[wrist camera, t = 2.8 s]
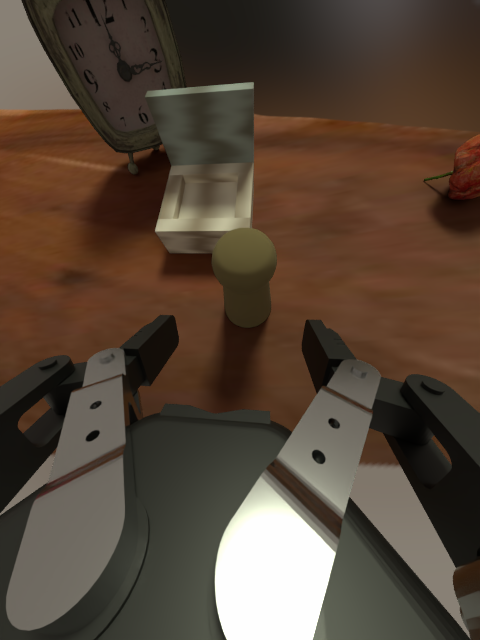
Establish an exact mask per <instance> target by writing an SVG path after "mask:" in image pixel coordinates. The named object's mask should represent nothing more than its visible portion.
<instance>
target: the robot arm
mask: <svg viewBox="0 0 480 640" xmlns="http://www.w3.org/2000/svg"><path fill="white" fill-rule="evenodd" d="M178 343H179V336H178V331H177V326H176V321H175V317H174V316H173V315H160V316H158V317H157V318H156V319H155V320H154V321H153V322H152V323H150V324H148V325H146V326H144V327H143V328H141V329H140V330H139V331H138V332H137V333H136V334H135V335H134V336H132V337H131V338H130V339H129V340H128V341H126V342H125V343H124V344H123V345H122V346H121V347H120V348H111V349H107V350H103V351H101V352H99V353H97V354H95V355H93V356H92V357H91V358H90V359H89V360H88V362H84V363H77V364H73V363H72V361H71V359H70V357H69V356H66V355H60V356H54V357H51V358H47V359H45V360H42V361H40V362H38V363H36V364H35V365H33V366H31V367H30V368H28V369H27V370H25V371H24V372H22V373H21V374H19V375H18V376H16V377H15V378H13V379H11V380H10V381H8V382H7V383H5V384H4V385H2V386H1V387H0V513H1V512H2V511H3V509H4V508H5V507H6V506H7V505H8V504H9V502H10V501H11V500H12V499H13V498H14V497H15V495H16V494H17V493H18V492H19V491H20V489H21V488H22V487H23V486H24V485H25V484H26V483H27V481H28V480H29V479H30V478H31V477H32V475H33V474H34V473H35V472H36V471H37V470H38V469H39V467H40V466H41V465H42V464H43V463H44V462H45V461H46V459H47V458H48V457H49V456H50V455H51V454H52V452H53V451H54V450H55V449H56V448H57V451H56V454H55V458H54V462H53V466H52V470H51V474H50V478H49V481H48V483H47V484H45V485H43V486H42V487H41V488H39V489H38V490H36V491H35V492H33V493H32V494H30V495H29V496H28V497H26V498H25V499H23V500H22V501H20V502H19V503H18V504H16V505H15V506H13V507H12V508H10V509H9V510H7V511H6V512H5V513H3V514H2V515H0V640H470V639H471V640H480V413H479V412H477V411H476V410H475V409H474V408H473V407H472V406H471V405H470V404H468V403H467V402H466V401H465V400H464V399H463V398H462V397H461V396H460V395H458V394H457V393H456V392H455V391H454V390H453V389H451V388H450V387H449V386H447V385H446V384H444V383H442V382H440V381H438V380H436V379H433V378H431V377H428V376H424V375H418V374H412V375H409V376H407V378H406V380H405V382H404V383H403V382H399V381H395V380H391V379H387V378H383V377H381V376H380V373H379V372H378V371H377V370H376V369H375V368H374V367H373V366H371V365H369V364H368V363H365V362H363V361H360V360H357V359H356V358H355V356H354V355H353V354H352V352H351V351H350V350H349V348H348V347H347V346H346V345H345V343H344V342H343V340H342V339H341V338H340V336H339V335H338V334H337V333H336V332H334V331H333V330H331V329H327V328H326V327H325V325H324V324H323V322H322V321H321V320H306V323H305V328H304V334H303V339H302V352H303V355H304V358H305V361H306V364H307V367H308V370H309V373H310V375H311V378H312V381H313V384H314V387H315V390H316V393H317V395H316V397H315V398H314V400H313V401H312V403H311V405H310V406H309V408H308V409H307V411H306V412H305V414H304V415H303V417H302V418H301V420H300V422H299V423H298V425H297V426H296V428H295V429H294V431H293V432H291V431H290V430H288V429H287V428H285V427H284V426H282V425H280V424H278V423H276V422H273V421H271V420H270V411H258V410H244V409H242V410H236V411H230V412H224V413H218V414H213V413H210V412H207V411H204V410H202V409H199V408H196V407H193V406H190V405H177V404H165V405H164V407H163V409H162V411H161V413H157V414H153V415H150V416H147V417H145V418H143V412H142V406H141V400H140V393H139V390H138V388H139V387H140V385H141V386H151V384H152V383H153V381H154V380H155V378H156V377H157V376H158V374H159V373H160V371H161V370H162V368H163V367H164V365H165V364H166V362H167V361H168V359H169V358H170V356H171V355H172V353H173V352H174V351H175V349H176V348H177V346H178ZM42 398H44V399H45V400H46V402H47V403H48V404H49V406H50V407H51V408H50V409H49V410H48V411H47V412H46V413H45V414H44V415H43V416H41V417H40V418H39V419H38V420H37V421H36V422H35V423H34V424H33V425H32V426H31V427H30V428H29V429H27V430H26V431H25V432H24V433H22V432H21V431H20V430H19V429H18V421H19V419H20V417H21V416H22V415H23V414H24V413H25V412H26V411H27V410H29V409H30V408H31V407H32V406H33V405H34V404H36V403H37V402H38V401H39V400H40V399H42ZM369 428H371V429H374V430H376V431H379V432H382V433H383V434H384V436H385V438H386V440H387V441H388V443H389V445H390V447H391V449H392V451H393V452H394V454H395V456H396V458H397V460H398V462H399V464H400V465H401V467H402V469H403V471H404V473H405V475H406V476H407V478H408V480H409V482H410V484H411V486H412V487H413V489H414V491H415V493H416V495H417V497H418V499H419V500H420V502H421V504H422V506H423V508H424V510H425V511H426V513H427V515H428V517H429V519H430V520H431V522H432V524H433V526H434V528H435V530H436V531H437V533H438V535H439V537H440V539H441V541H442V543H443V545H444V547H445V548H446V550H447V552H448V554H449V556H450V558H451V559H452V561H453V563H454V565H455V567H456V570H455V571H454V575H453V585H454V590H455V594H456V597H457V600H458V602H459V605H460V613H461V617H462V619H463V622H464V624H465V626H466V628H467V629H468V631H469V634H470V638H469V637H468V636H467V635H466V633H465V632H464V631H463V630H462V628H461V627H460V626H459V624H458V623H457V622H456V621H455V620H454V618H453V617H452V616H451V615H450V614H449V613H448V612H447V610H446V609H445V608H444V607H443V605H442V604H441V603H440V602H439V601H438V600H437V598H436V597H435V596H434V595H433V594H432V593H431V591H430V590H429V589H428V588H427V587H426V586H425V584H424V583H423V582H422V581H421V580H420V579H419V577H418V576H417V575H416V574H415V573H414V572H413V570H412V569H411V568H410V567H409V566H408V565H407V563H406V562H405V561H404V560H403V559H402V558H401V556H400V555H399V554H398V553H397V552H396V551H395V549H394V548H393V547H392V546H391V545H390V544H389V542H388V541H387V540H386V539H385V538H384V537H383V535H382V534H381V533H380V532H379V531H378V530H377V528H376V527H375V526H374V525H373V524H372V523H371V521H370V520H369V519H368V518H367V517H366V516H365V514H364V513H363V512H362V511H361V510H360V509H359V507H358V506H357V505H356V504H355V503H354V502H353V501H352V499H351V498H350V497H349V495H350V492H351V488H352V485H353V481H354V478H355V474H356V471H357V467H358V464H359V460H360V457H361V453H362V450H363V446H364V443H365V439H366V436H367V432H368V429H369ZM434 435H435V437H436V438H437V439H438V441H439V442H440V443H441V444H442V446H443V447H444V448H445V449H446V451H447V452H448V454H449V456H450V459H451V462H452V465H451V464H450V463H449V461H448V460H447V459H446V457H445V456H444V455H443V453H442V452H441V451H440V450H439V448H438V447H437V446H436V444H435V443H434V442H433V440H432V439H431V438H432V437H433V436H434Z"/></svg>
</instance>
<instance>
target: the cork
mask: <svg viewBox="0 0 480 640" xmlns="http://www.w3.org/2000/svg"><path fill="white" fill-rule="evenodd" d="M276 265H277V255H276V250H275V248H274V245H273V243H272V242H271V241H270V239H269V238H268V237H267V236H266V235H265V234H264V233H262V232H260V231H259V230H256V229H252V228H237V229H234V230H231V231H229V232H227V233H226V234H224V235H223V236H222V237H221V238H220V239H219V240H218V242H217V243H216V245H215V247H214V249H213V253H212V267H213V272H214V274H215V276H216V278H217V279H218V281H219V282H220V284H222V285H223V291H224V305H225V311H226V315H227V316H228V318H229V319H230V321H231V322H233V323H234V324H235V325H238V326H240V327H245V328H251V327H255V326H258V325H260V324H261V323H263V322H264V321H265V320H266V319H267V317H268V316H269V314H270V311H271V297H270V287H269V281H270V279H271V278H272V277H273V274H274V271H275V269H276Z"/></svg>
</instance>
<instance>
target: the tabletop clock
mask: <svg viewBox="0 0 480 640" xmlns="http://www.w3.org/2000/svg"><path fill="white" fill-rule="evenodd" d="M22 3H23V5H24V8H25V11H26V13H27V16H28V19H29V21H30V23H31V25H32V27H33V29H34V31H35V33H36V35H37V37H38V39H39V41H40V43H41V45H42V47H43V49H44V51H45V52H46V54H47V56H48V57H49V59H50V61H51V62H52V64H53V66H54V67H55V69H56V71H57V73H58V74H59V76H60V78H61V79H62V81H63V83H64V85H65V86H66V88H67V90H68V91H69V93H70V94H71V96H72V98H73V99H74V100H75V102H76V103H77V105H78V106H79V108H80V109H81V110H82V112H83V113H84V115H85V116H86V117H87V119H88V120H89V122H90V123H91V124H92V126H93V127H94V129H95V130H96V131H97V132H98V134H99V135H100V136H101V137H102V138H103V140H104V141H105V142H106V143H107V144H108V145H109V146H110V147H111V148H113V149H114V150H115V151H116V152H120V153H128V155H129V159H130V163H129V164H128V170H129V171H130V173H132V174H134V175H135V174H137V173H138V168H137V166H136V165H135V164H134V161H133V153H134V152H139V151H142V150H146V149H150V148H153V149H154V150H158V149H159V147H160V146H159V145H161V144H163V143H162V140H161V137H160V135H159V132H158V130H157V127H156V125H155V122H154V119H153V117H152V114H151V112H150V109H149V107H148V104H147V101H146V99H145V96H146V93H147V91H154V90H166V89H178V88H187V87H186V82H185V76H184V71H183V66H182V60H181V56H180V52H179V48H178V45H177V41H176V37H175V34H174V30H173V26H172V23H171V19H170V15H169V12H168V9H167V5H166V3H165V0H22Z"/></svg>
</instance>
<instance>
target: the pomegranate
mask: <svg viewBox="0 0 480 640" xmlns="http://www.w3.org/2000/svg"><path fill="white" fill-rule="evenodd" d="M448 175H452V176H451V177H450V179H449V185H450V190H449V194H448V195H449V198H451V199H457V200H465V199H473V198H476V197H479V196H480V134H479V135H477V136H475V137H473V138H472V139H470V140H468V141H467V142H465V143H464V144H463V145H462V146H461V147H459V148H458V149H457V151H456V153H455V159H454V171H451V172H449V173H446V174H443V175H439V176H435V177H431V178H426V179H424V181H428V180H432V179H438V178H441V177H445V176H448Z"/></svg>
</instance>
